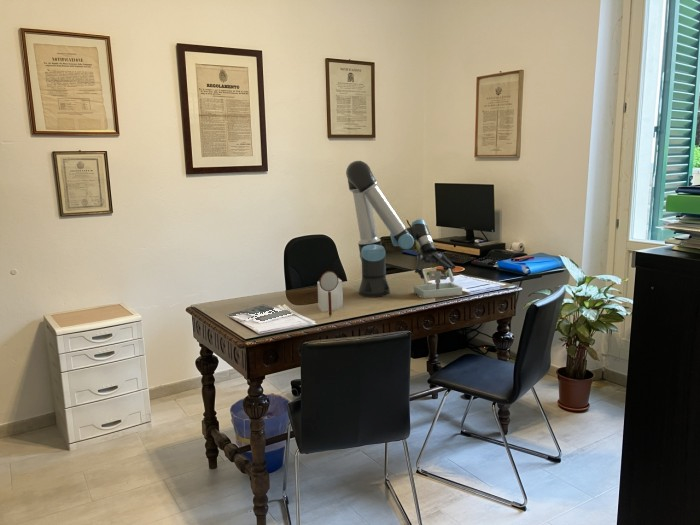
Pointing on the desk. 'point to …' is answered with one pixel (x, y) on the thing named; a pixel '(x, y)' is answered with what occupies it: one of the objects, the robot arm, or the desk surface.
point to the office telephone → (262, 309)
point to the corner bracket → (335, 297)
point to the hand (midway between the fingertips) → (439, 282)
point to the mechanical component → (437, 277)
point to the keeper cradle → (438, 290)
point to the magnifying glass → (329, 285)
